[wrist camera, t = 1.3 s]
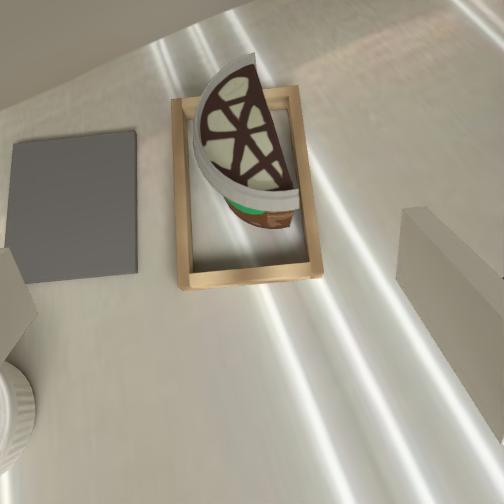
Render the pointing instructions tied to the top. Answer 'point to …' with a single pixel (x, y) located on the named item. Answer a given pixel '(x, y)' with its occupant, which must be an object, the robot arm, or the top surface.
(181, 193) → the oak frame
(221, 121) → the food container
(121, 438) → the top surface
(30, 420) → the ramekin
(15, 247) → the charcoal mat
